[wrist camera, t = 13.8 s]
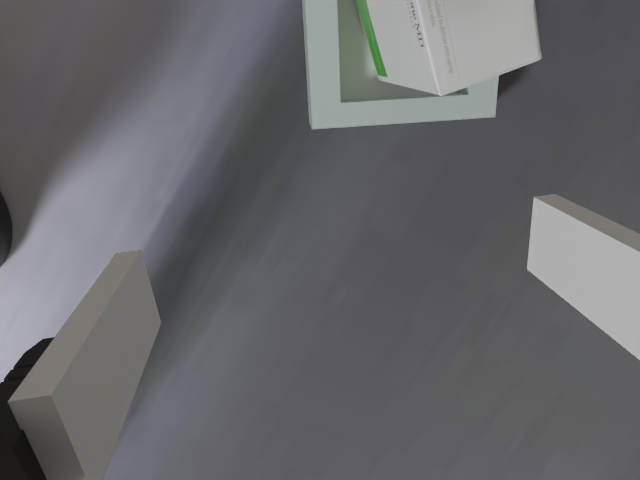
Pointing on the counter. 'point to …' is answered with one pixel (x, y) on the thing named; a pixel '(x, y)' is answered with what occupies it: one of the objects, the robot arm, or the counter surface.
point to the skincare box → (448, 40)
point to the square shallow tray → (370, 78)
